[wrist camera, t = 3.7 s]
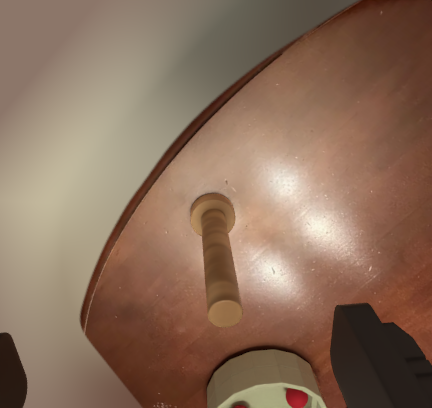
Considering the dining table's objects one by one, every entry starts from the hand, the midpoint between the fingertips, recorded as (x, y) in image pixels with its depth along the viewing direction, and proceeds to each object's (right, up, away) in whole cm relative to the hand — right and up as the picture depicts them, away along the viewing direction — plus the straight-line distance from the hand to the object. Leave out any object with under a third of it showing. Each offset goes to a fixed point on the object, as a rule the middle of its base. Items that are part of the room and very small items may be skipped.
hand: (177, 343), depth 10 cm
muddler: (+1, +3, +30) cm, 30 cm away
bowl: (+7, -20, +42) cm, 47 cm away
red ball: (+11, -21, +40) cm, 47 cm away
